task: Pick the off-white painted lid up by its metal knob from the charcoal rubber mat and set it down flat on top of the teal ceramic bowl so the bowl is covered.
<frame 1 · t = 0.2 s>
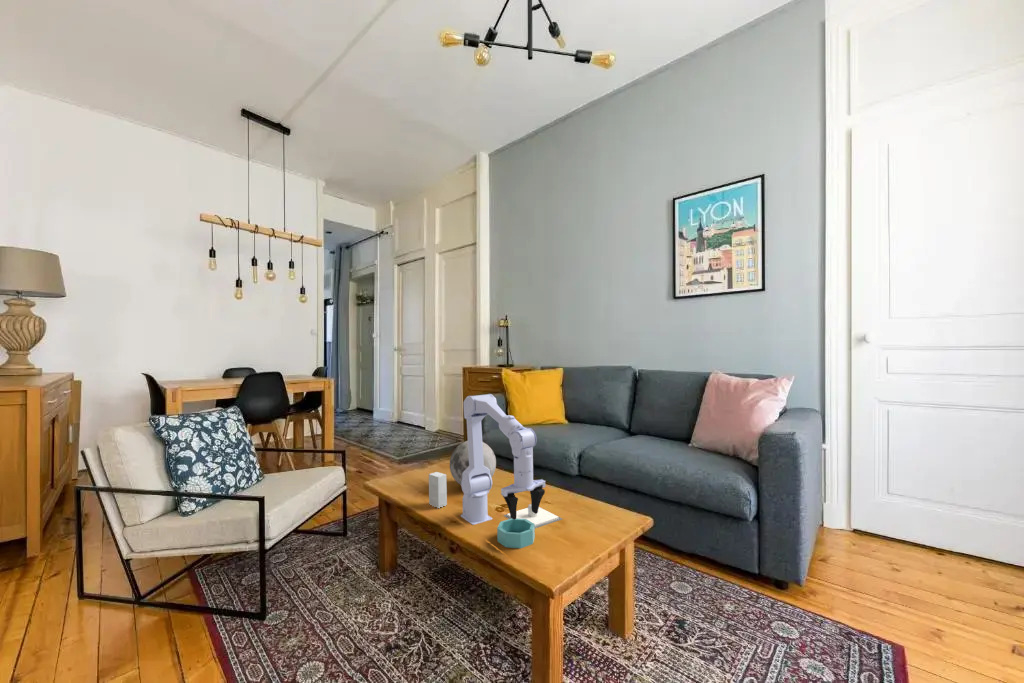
hand: (524, 515, 124), 10 cm above the table, tool pointing down, fingers open, 7 cm apart
lid: (532, 517, 145), resting on mat
bowl: (516, 540, 129), on the table
mat: (532, 518, 145), on the table
skincare box: (437, 506, 158), on the table
moon model: (473, 487, 178), on the table
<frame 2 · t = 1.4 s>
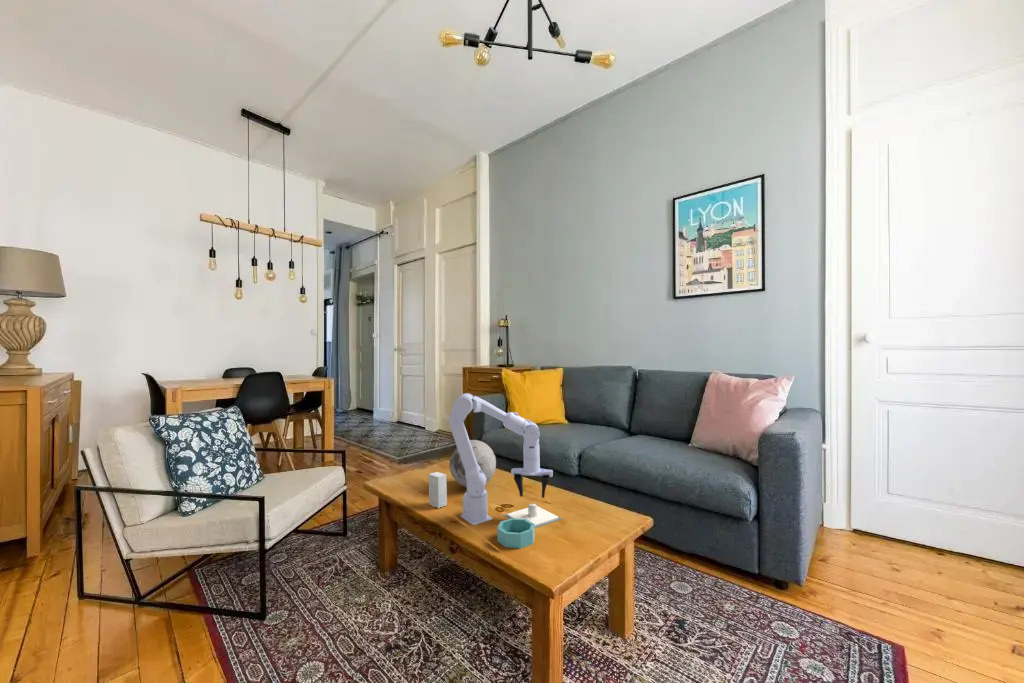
hand: (532, 496, 145), 8 cm above the table, tool pointing down, fingers open, 7 cm apart
nothing on the table moved.
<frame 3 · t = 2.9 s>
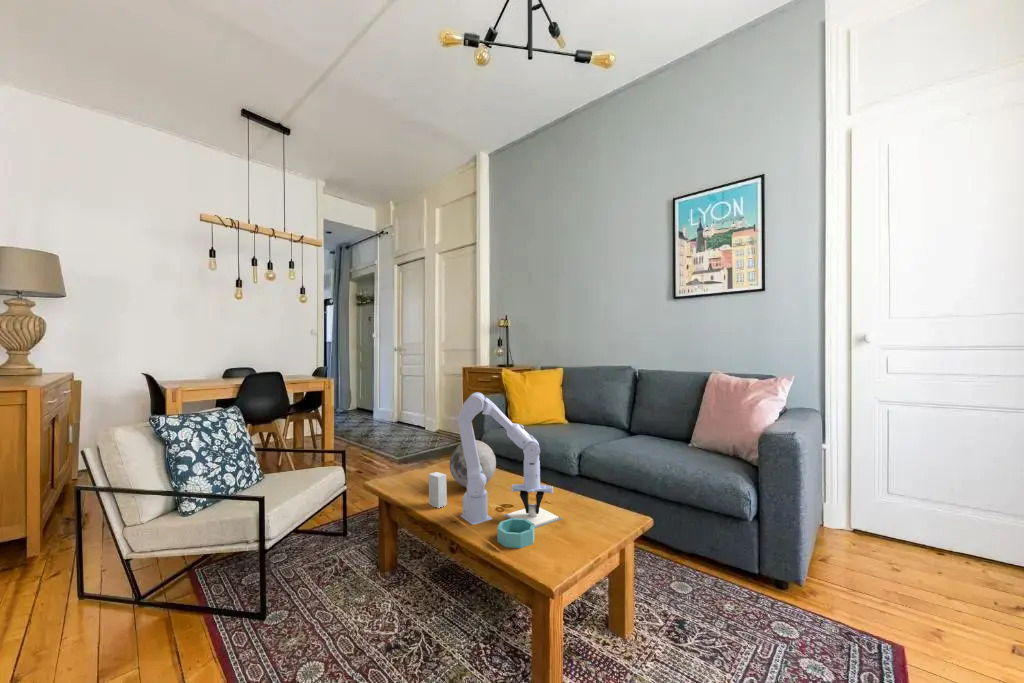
hand: (532, 512, 145), 2 cm above the table, tool pointing down, fingers closed on lid, 3 cm apart
lid: (532, 517, 145), resting on mat, touching gripper
everything else where it was.
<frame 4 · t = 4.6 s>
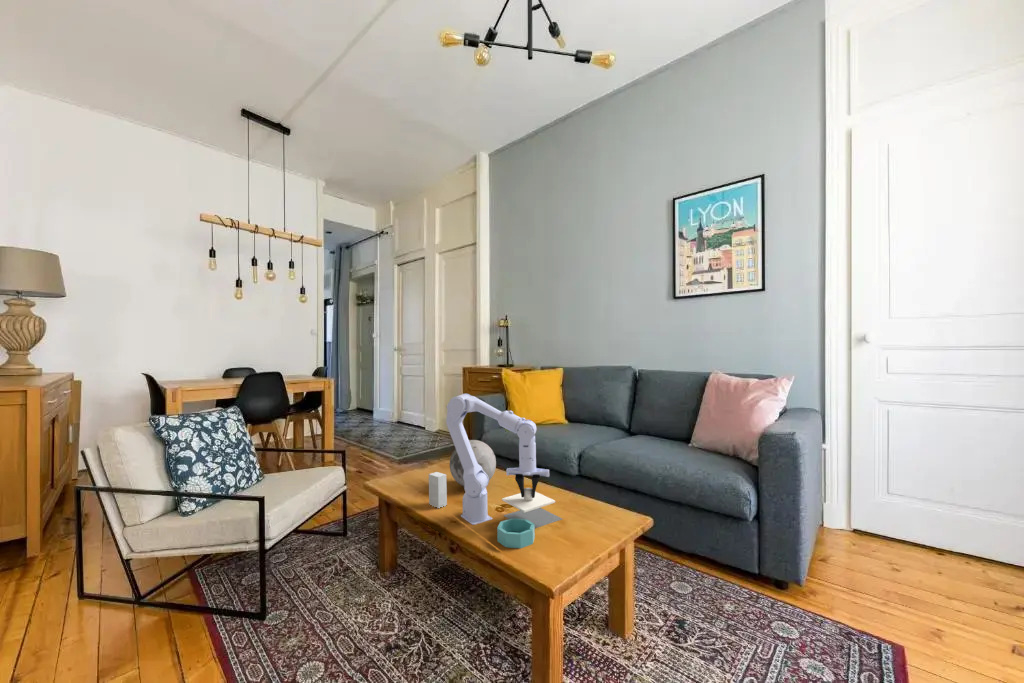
hand: (528, 496, 141), 9 cm above the table, tool pointing down, fingers closed on lid, 3 cm apart
lid: (528, 501, 141), point 8 cm above the table, touching gripper
everything else where it was.
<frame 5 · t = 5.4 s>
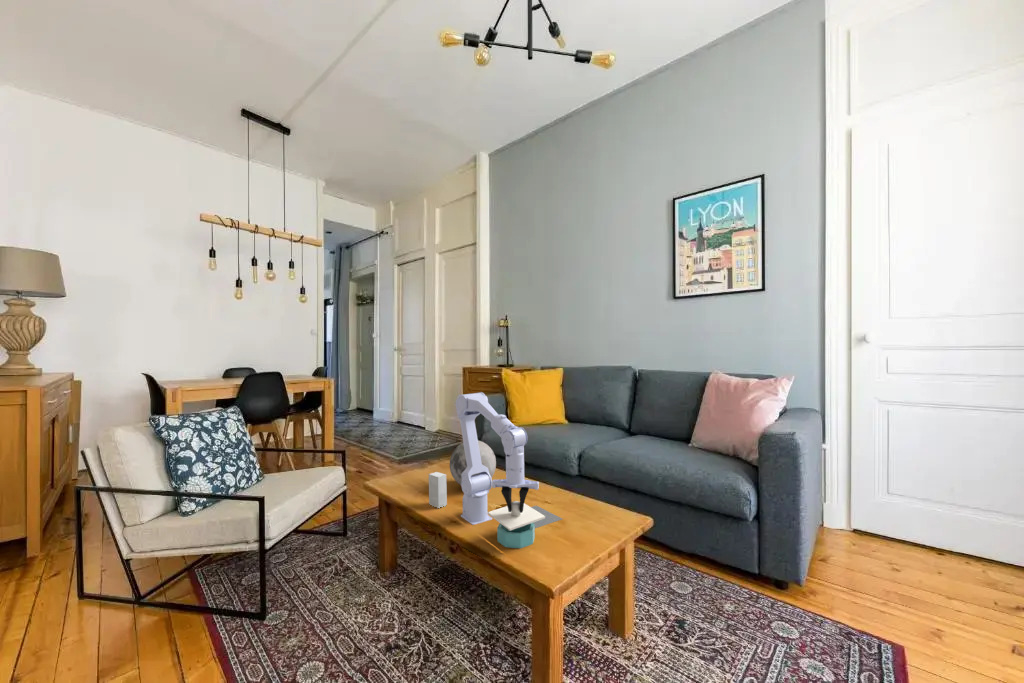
hand: (515, 511, 129), 9 cm above the table, tool pointing down, fingers closed on lid, 3 cm apart
lid: (516, 516, 129), point 7 cm above the table, touching gripper
everything else where it was.
when the fingers open (8 cm above the table, at t = 6.0 s): lid drops 1 cm, resting on bowl.
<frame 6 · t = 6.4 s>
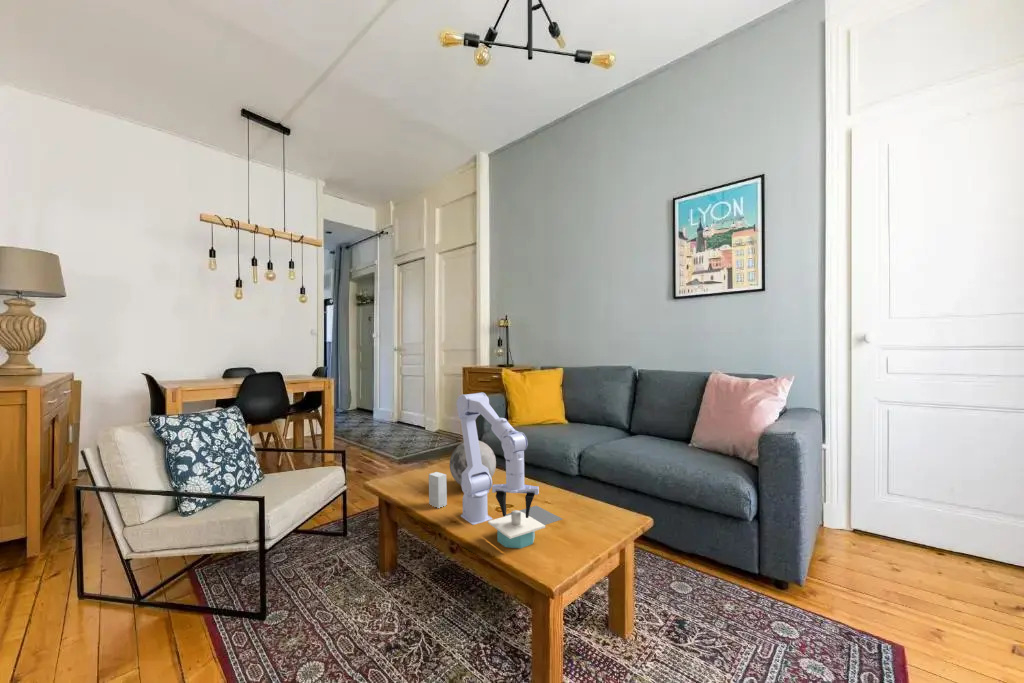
hand: (515, 515, 129), 8 cm above the table, tool pointing down, fingers open, 7 cm apart
lid: (516, 525, 129), point 4 cm above the table, touching bowl
everything else where it was.
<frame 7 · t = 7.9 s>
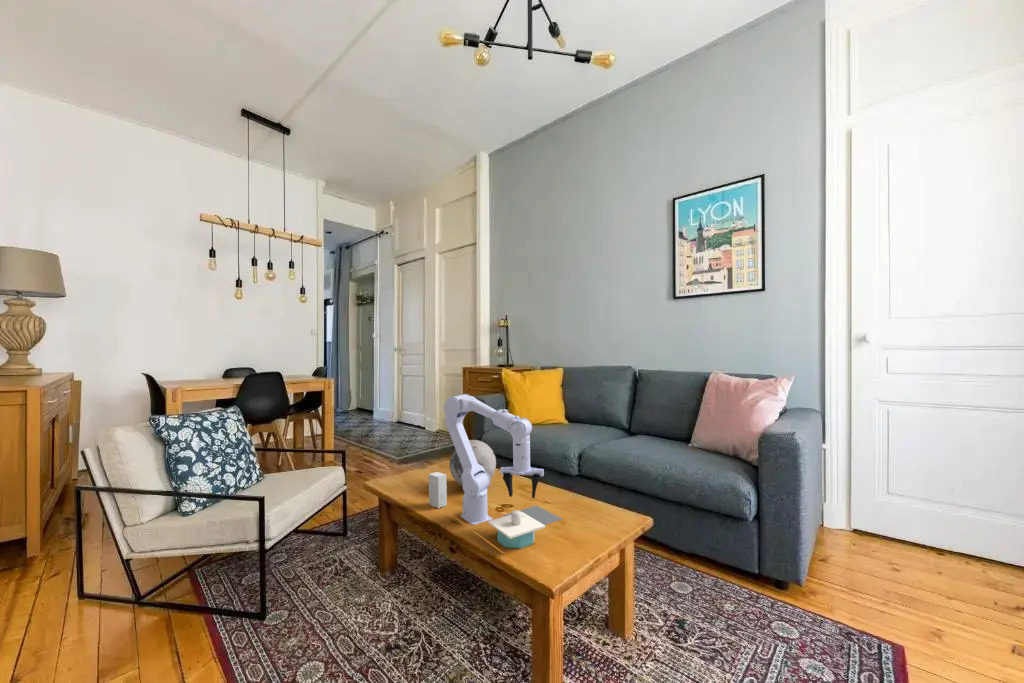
hand: (522, 496, 138), 10 cm above the table, tool pointing down, fingers open, 7 cm apart
nothing on the table moved.
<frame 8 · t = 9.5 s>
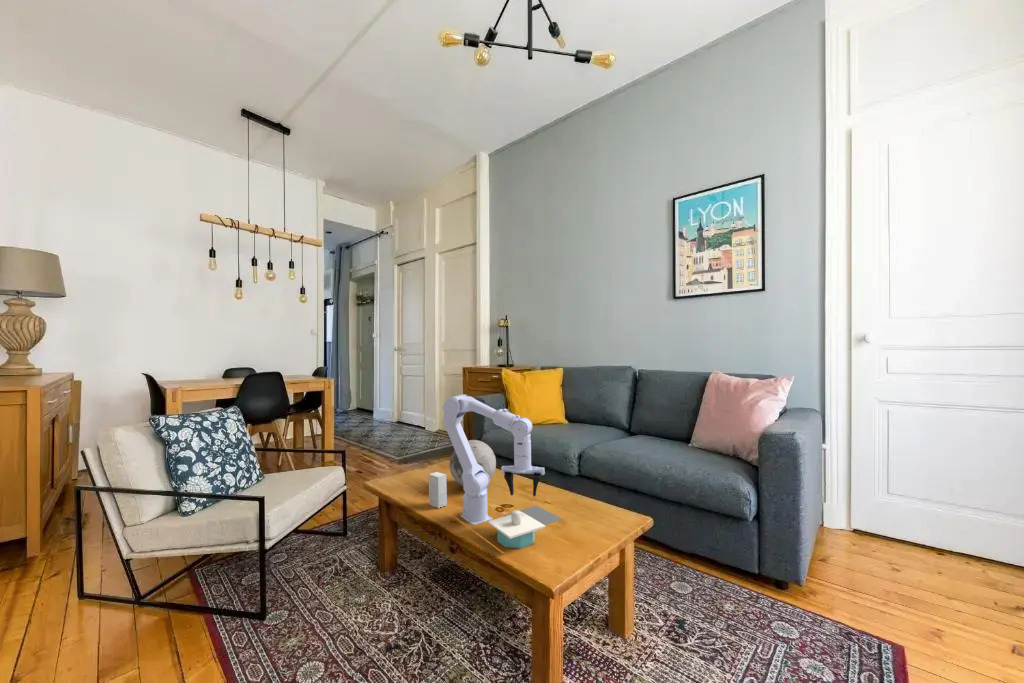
hand: (523, 494, 139), 10 cm above the table, tool pointing down, fingers open, 7 cm apart
nothing on the table moved.
at the end: lid 0.4 cm off-centre on the bowl, point 4.5 cm above the bowl's base; lid tilted 0°; the gripper is holding nothing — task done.
